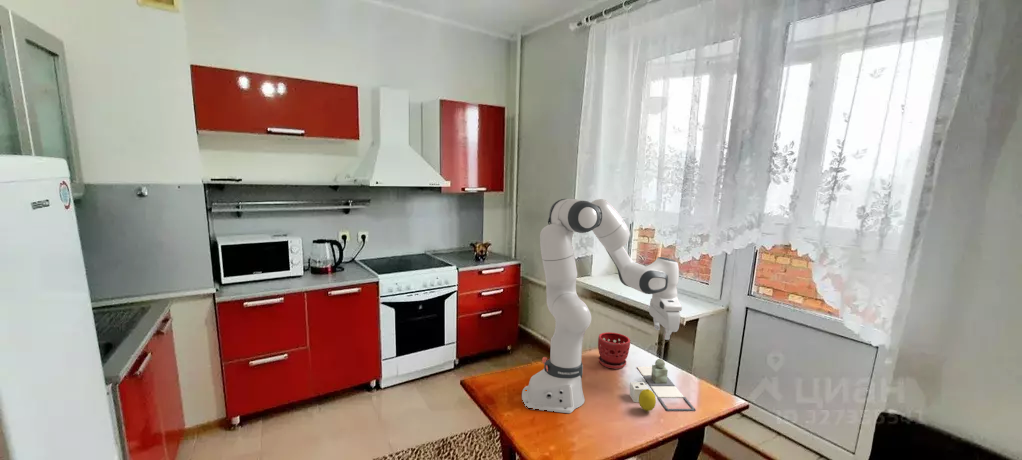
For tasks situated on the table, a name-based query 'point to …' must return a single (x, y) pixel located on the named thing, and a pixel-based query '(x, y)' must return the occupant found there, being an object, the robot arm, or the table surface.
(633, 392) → the die
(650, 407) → the lemon
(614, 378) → the table surface
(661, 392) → the board
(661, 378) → the pawn
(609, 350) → the plant pot
